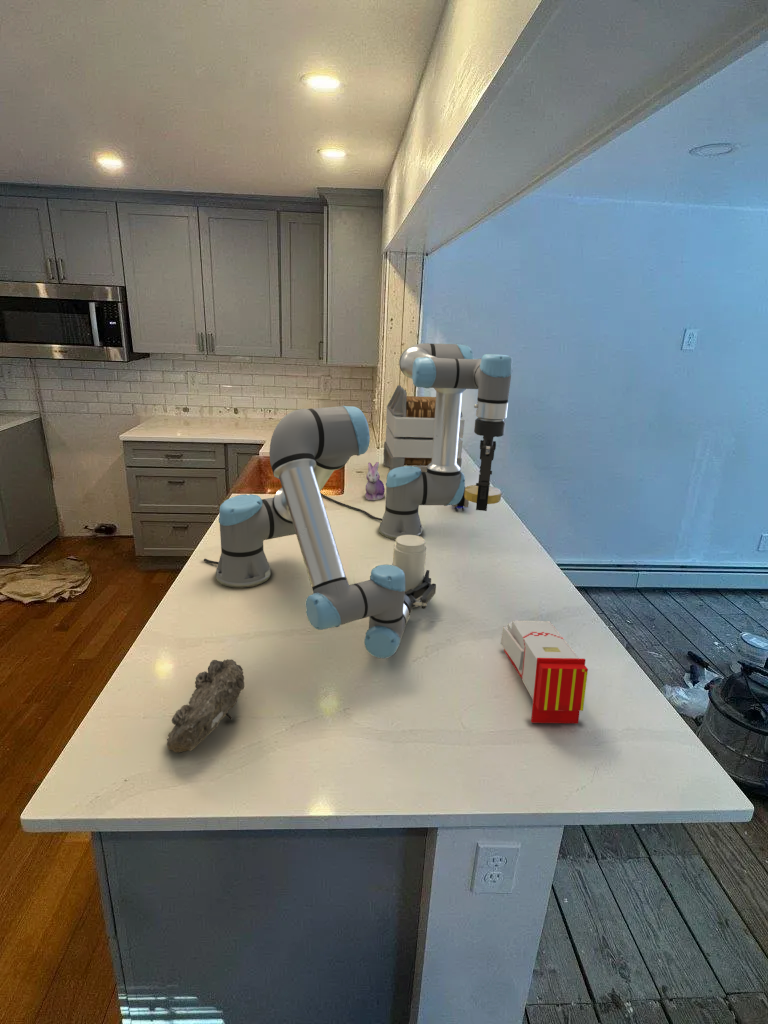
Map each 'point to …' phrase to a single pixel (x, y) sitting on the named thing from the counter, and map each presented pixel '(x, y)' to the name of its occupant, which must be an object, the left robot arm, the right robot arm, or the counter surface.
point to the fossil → (206, 705)
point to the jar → (410, 559)
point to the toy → (547, 670)
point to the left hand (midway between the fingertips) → (411, 572)
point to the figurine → (374, 483)
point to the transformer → (412, 431)
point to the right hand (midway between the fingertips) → (481, 503)
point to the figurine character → (462, 503)
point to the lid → (472, 493)
